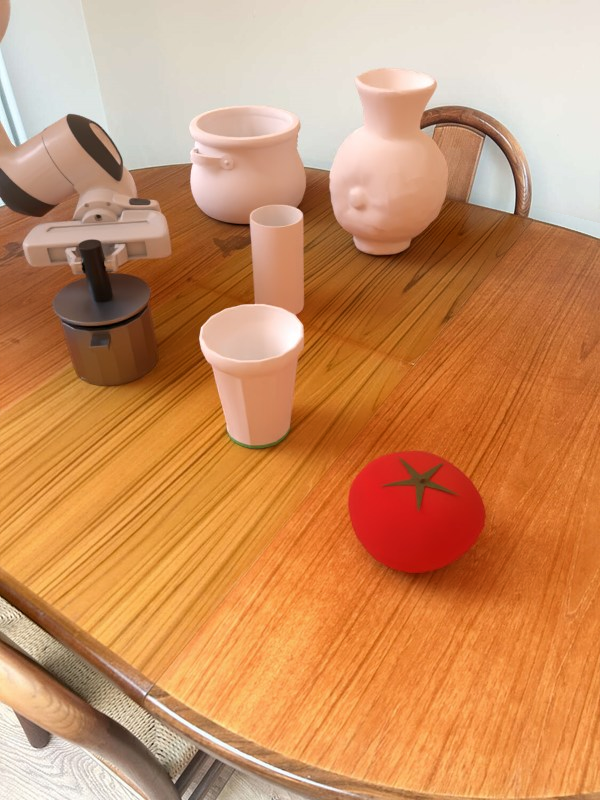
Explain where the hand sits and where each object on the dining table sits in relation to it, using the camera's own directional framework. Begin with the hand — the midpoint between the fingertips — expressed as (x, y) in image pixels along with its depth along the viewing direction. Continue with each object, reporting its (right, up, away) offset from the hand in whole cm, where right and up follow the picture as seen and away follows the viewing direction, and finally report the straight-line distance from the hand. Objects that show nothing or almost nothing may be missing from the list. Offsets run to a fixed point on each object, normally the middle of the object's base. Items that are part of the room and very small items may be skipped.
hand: (94, 268), depth 88 cm
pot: (+17, +25, +54) cm, 62 cm away
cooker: (0, -12, +11) cm, 16 cm away
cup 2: (+22, -21, -1) cm, 31 cm away
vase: (+44, +12, +39) cm, 60 cm away
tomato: (+40, -33, -16) cm, 54 cm away
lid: (0, -4, +4) cm, 5 cm away
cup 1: (+24, -2, +22) cm, 33 cm away
